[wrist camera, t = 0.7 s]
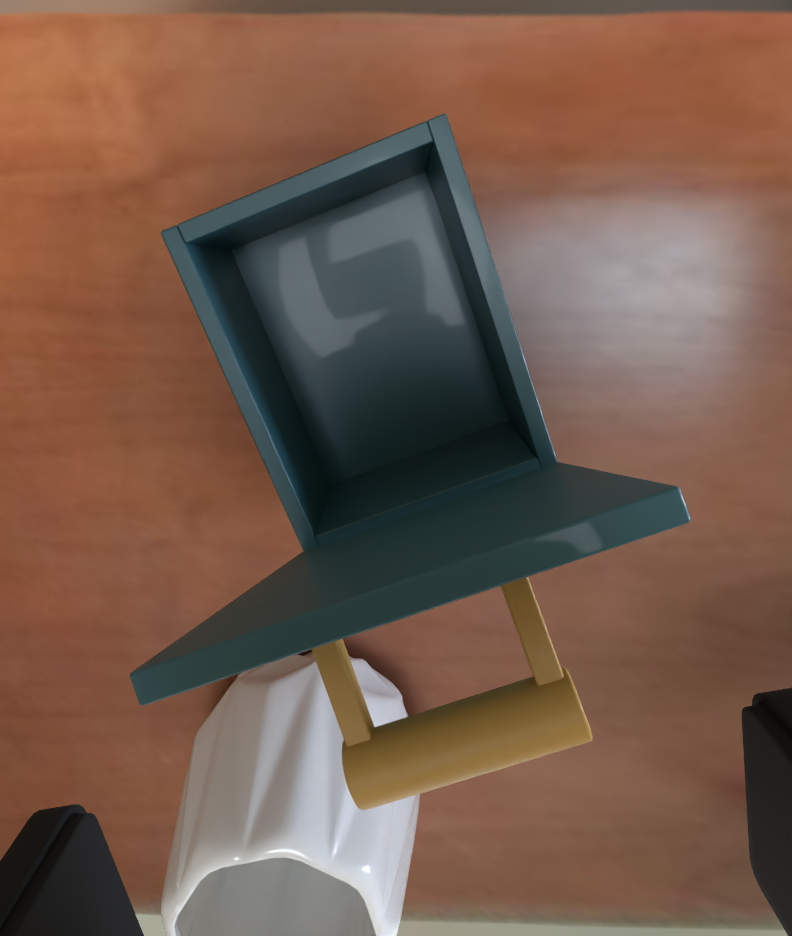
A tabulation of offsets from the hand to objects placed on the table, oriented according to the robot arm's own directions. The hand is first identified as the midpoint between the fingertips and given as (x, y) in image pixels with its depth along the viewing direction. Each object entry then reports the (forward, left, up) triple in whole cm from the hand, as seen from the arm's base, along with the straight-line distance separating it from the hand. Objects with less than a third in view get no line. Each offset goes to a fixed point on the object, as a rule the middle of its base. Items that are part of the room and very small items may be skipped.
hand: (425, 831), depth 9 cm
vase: (+18, +13, -30) cm, 38 cm away
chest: (-1, -4, -30) cm, 31 cm away
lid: (0, +1, -13) cm, 13 cm away
